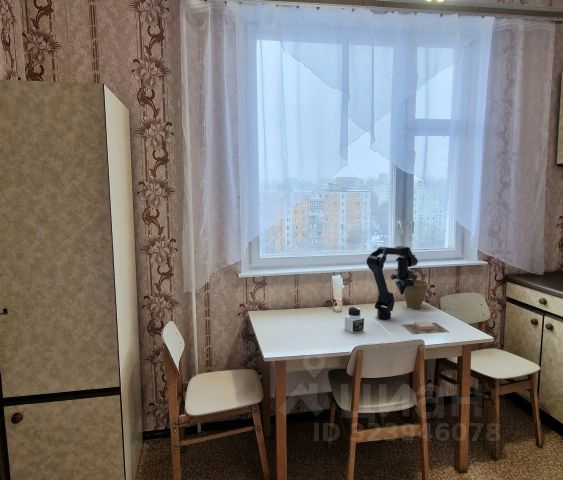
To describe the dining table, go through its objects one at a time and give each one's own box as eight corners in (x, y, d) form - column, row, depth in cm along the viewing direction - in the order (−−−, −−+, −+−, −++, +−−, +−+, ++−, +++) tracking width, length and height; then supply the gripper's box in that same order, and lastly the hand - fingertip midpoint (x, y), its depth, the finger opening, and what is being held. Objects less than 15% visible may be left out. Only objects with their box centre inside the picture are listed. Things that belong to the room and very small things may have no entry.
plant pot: (410, 312, 241) (411, 285, 238) (396, 304, 255) (397, 280, 253) (432, 309, 245) (433, 284, 242) (417, 302, 259) (418, 278, 257)
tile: (413, 326, 214) (420, 330, 207) (414, 322, 213) (420, 326, 207) (428, 325, 215) (434, 329, 208) (428, 321, 215) (435, 325, 208)
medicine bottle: (352, 333, 207) (353, 310, 205) (344, 329, 213) (344, 307, 211) (363, 331, 210) (364, 308, 208) (355, 327, 216) (355, 305, 214)
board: (412, 336, 202) (412, 334, 202) (400, 326, 216) (400, 324, 216) (449, 334, 205) (450, 331, 205) (435, 324, 219) (435, 322, 219)
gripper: (424, 271, 224) (422, 298, 226) (408, 264, 242) (407, 289, 245) (404, 271, 223) (403, 299, 225) (390, 265, 241) (390, 290, 243)
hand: (401, 294), depth 234 cm, fingers closed
